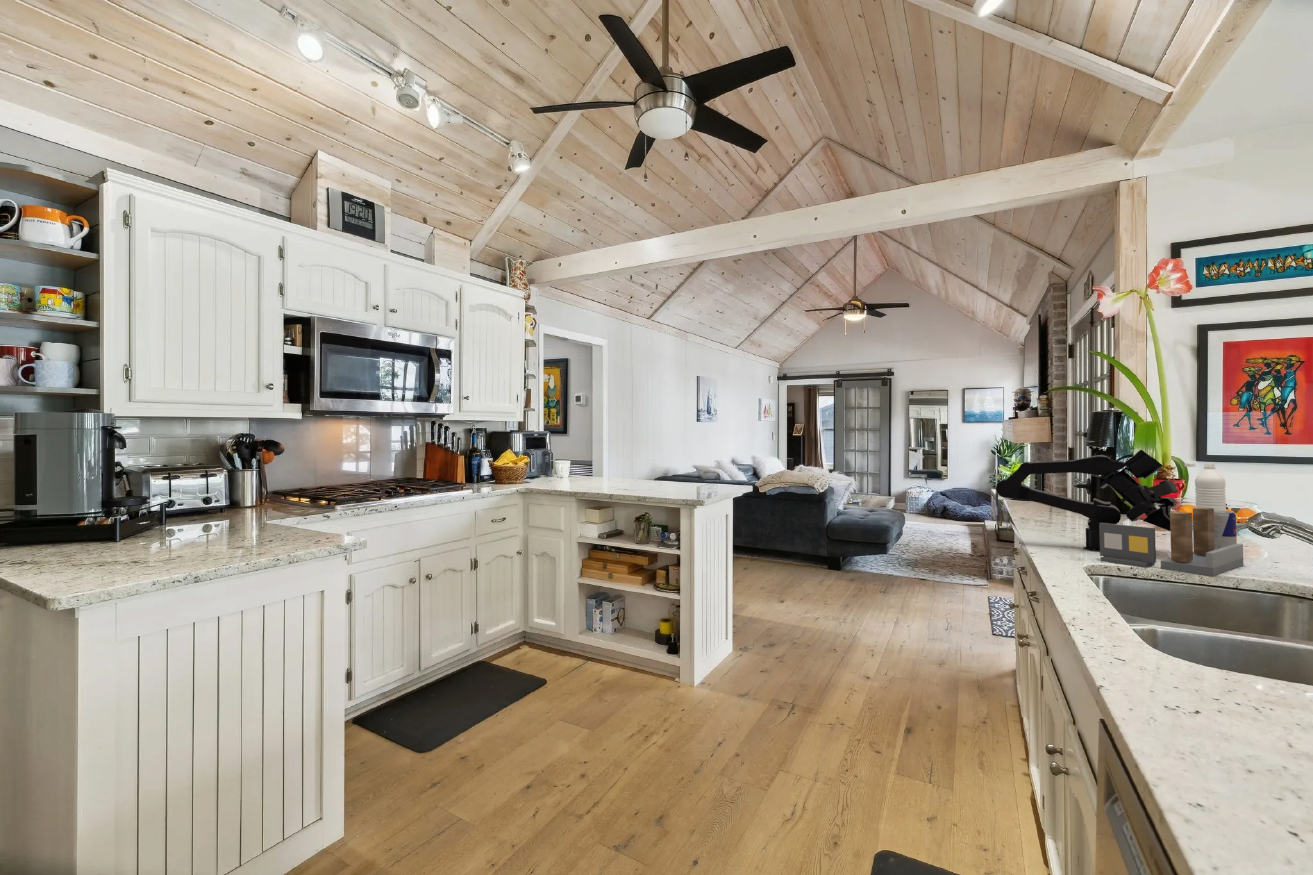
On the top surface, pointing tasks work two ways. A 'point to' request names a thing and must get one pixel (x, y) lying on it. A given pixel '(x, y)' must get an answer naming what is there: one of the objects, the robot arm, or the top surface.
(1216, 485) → the water bottle
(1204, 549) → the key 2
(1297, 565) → the top surface
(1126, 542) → the card
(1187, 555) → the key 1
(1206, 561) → the grey stepped base
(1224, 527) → the energy drink
